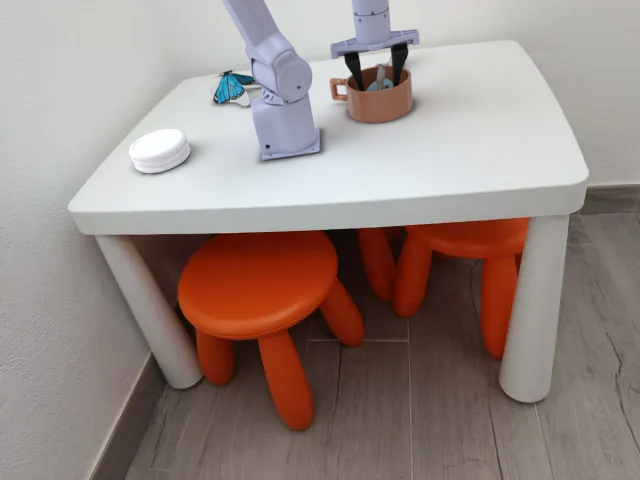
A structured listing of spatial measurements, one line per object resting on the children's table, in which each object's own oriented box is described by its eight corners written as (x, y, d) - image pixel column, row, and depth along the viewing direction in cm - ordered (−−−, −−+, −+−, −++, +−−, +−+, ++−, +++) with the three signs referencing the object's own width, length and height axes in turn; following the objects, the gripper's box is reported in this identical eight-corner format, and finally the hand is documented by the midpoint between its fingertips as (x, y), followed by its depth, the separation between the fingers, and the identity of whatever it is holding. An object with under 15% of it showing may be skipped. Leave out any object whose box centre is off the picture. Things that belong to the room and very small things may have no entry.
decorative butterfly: (218, 68, 109) (255, 54, 104) (232, 95, 112) (269, 83, 107) (195, 88, 102) (234, 74, 97) (211, 116, 105) (250, 105, 100)
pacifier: (356, 111, 88) (390, 108, 86) (350, 76, 84) (386, 72, 82) (363, 92, 93) (395, 89, 91) (357, 59, 89) (391, 55, 87)
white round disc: (186, 139, 94) (180, 122, 92) (195, 162, 86) (188, 144, 84) (133, 156, 92) (126, 139, 90) (137, 181, 84) (129, 163, 82)
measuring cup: (422, 96, 91) (420, 66, 88) (397, 125, 84) (394, 94, 81) (347, 90, 99) (343, 63, 95) (318, 117, 92) (313, 88, 88)
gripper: (326, 25, 78) (339, 107, 86) (421, 8, 76) (424, 93, 85) (325, 13, 83) (337, 91, 91) (413, -4, 82) (417, 77, 90)
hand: (378, 91), depth 88 cm, fingers closed on pacifier, 5 cm apart
